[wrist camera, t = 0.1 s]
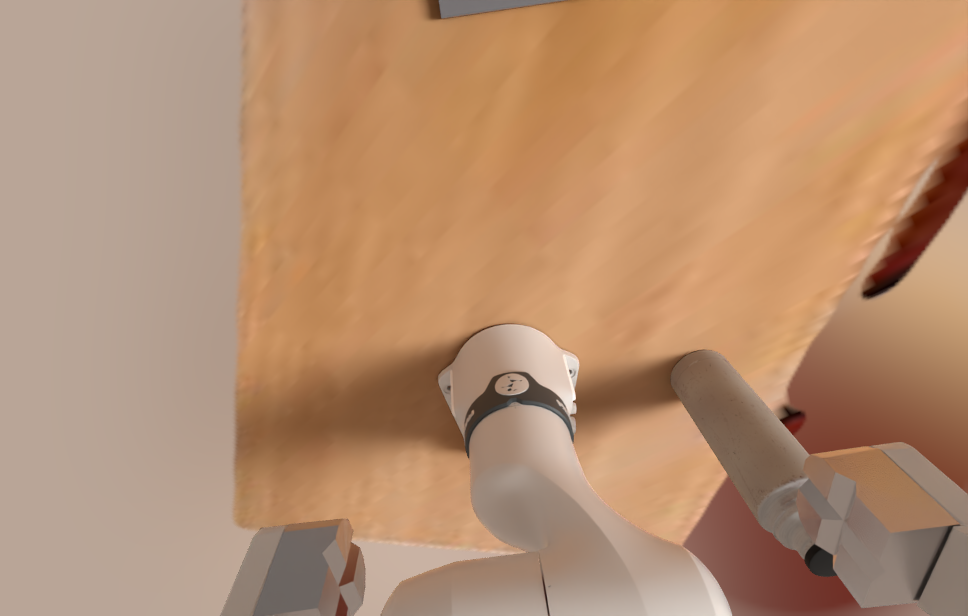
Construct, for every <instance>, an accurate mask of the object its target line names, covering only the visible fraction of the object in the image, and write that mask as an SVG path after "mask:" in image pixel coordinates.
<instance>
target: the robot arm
mask: <svg viewBox="0 0 968 616" xmlns="http://www.w3.org/2000/svg"><path fill="white" fill-rule="evenodd" d="M569 370H571V371H569ZM578 370H579V361H578V358H577V356H575V355H574V354H572V353H570V352H568V351H565V350H562V349H560V348H559V347H558V346H557V345H555V343H554V342H553V341H552V340H551V339H550V338H549V337H548V336H546V335H545V334H543V333H542V332H540V331H538V330H536V329H534V328H531V327H528V326H524V325H517V324H505V325H498V326H494V327H490V328H488V329H485V330H483V331H481V332H479V333H477V334H476V335H474V336H473V337H472V338H470V339H469V340H468V341H467V342H466V343H465V344H464V346H463V347H462V348H461V350H460V351H459V353H458V355H457V357H456V359H455V360H454V362H453V363H452V364H451V365H449V366H448V367H447V368H445V369H444V370H443V371H442V372H441V373H440V374H439V375H438V384H439V386H440V389H441V391H442V393H443V395H444V397H445V399H446V401H447V403H448V406H449V408H450V410H451V412H452V415H453V416H454V418H455V420H456V422H457V425H458V427H459V429H460V431H461V433H462V435H463V437H464V442H465V448H466V453H467V456H468V458H469V461H470V493H471V503H472V507H473V510H474V512H475V514H476V516H477V517H478V519H479V520H480V522H481V523H482V524H483V525H484V526H485V528H486V529H487V530H488V531H489V532H490V533H491V534H492V535H494V536H495V537H496V538H497V539H499V540H500V541H502V542H504V543H506V544H508V545H511V546H513V547H515V548H518V549H521V550H523V551H526V552H528V553H521V554H513V555H505V556H497V557H489V558H481V559H473V560H465V561H457V562H453V563H450V564H447V565H444V566H442V567H439V568H436V569H433V570H430V571H427V572H424V573H422V574H419V575H417V576H414V577H412V578H409V579H406V580H404V581H402V582H400V583H399V585H398V586H397V587H396V588H395V590H394V591H393V593H392V594H391V596H390V597H389V599H388V601H387V602H386V604H385V606H384V608H383V610H382V613H381V616H732V613H731V610H730V607H729V604H728V602H727V599H726V597H725V596H724V593H723V591H722V590H721V588H720V586H719V584H718V582H717V581H716V579H715V578H714V577H713V575H712V574H711V573H710V571H709V570H708V569H707V568H706V566H705V565H704V564H703V563H702V562H701V561H700V560H699V559H698V558H697V557H696V556H694V555H693V554H692V553H691V552H690V551H688V550H687V549H685V548H684V547H683V546H681V545H679V544H676V543H673V542H671V541H668V540H665V539H662V538H660V537H658V536H655V535H653V534H651V533H649V532H647V531H645V530H643V529H641V528H640V527H638V526H636V525H634V524H633V523H631V522H630V521H628V520H627V519H625V518H624V517H623V516H621V515H620V514H619V513H617V512H616V511H615V510H613V509H612V508H611V507H610V506H609V505H608V504H606V503H605V502H604V501H603V500H602V499H601V498H600V497H599V495H598V494H597V493H596V492H595V491H594V490H593V488H592V487H591V485H590V484H589V482H588V481H587V479H586V477H585V474H584V472H583V470H582V467H581V465H580V463H579V460H578V457H577V455H576V452H575V449H574V446H573V441H574V434H575V432H576V422H575V418H574V417H573V416H570V414H576V403H573V401H574V400H575V399H576V397H575V386H576V380H577V375H578ZM448 386H451V388H449V387H448ZM803 472H804V473H805V474H806V475H807V477H808V478H809V479H808V480H807V481H806V482H805V483H804V484H803V485H802V486H801V487H800V488H799V489H798V494H797V499H796V505H797V509H798V514H799V518H800V520H801V522H802V524H803V526H804V528H805V531H806V532H807V533H808V535H809V536H810V538H811V539H812V541H813V542H814V543H815V545H817V546H819V547H820V548H822V549H824V550H825V551H827V552H829V553H830V554H832V555H833V570H834V571H835V572H836V574H837V575H838V576H839V578H840V579H841V580H842V582H843V583H844V585H845V586H846V587H847V589H848V590H849V591H850V593H851V594H852V595H853V597H854V598H855V599H856V601H857V602H858V603H859V605H860V606H861V608H867V607H877V606H886V605H897V604H907V603H916V602H918V604H917V606H918V607H919V608H921V609H922V610H924V611H925V612H926V613H928V614H930V615H931V616H968V494H967V493H966V492H964V491H963V490H962V489H961V488H960V487H959V486H957V485H956V484H955V483H954V482H953V481H952V480H950V479H949V478H948V477H947V476H946V475H945V474H943V473H942V472H941V471H940V470H939V469H938V468H936V467H935V466H934V465H933V464H932V463H931V462H930V461H928V460H927V459H926V458H925V457H924V456H923V455H921V454H920V453H919V452H918V451H917V450H916V449H914V448H913V447H912V446H910V445H907V444H905V443H903V442H897V443H890V444H882V445H875V446H870V447H865V446H864V447H859V448H851V449H844V450H837V451H831V452H825V453H817V454H812V455H810V456H809V457H808V458H807V459H806V460H805V463H804V467H803ZM352 535H353V529H352V527H351V525H350V522H349V520H348V519H335V520H326V521H317V522H307V523H298V524H289V525H282V526H274V527H265V528H261V529H260V530H259V531H258V532H257V533H256V534H255V536H254V537H253V539H252V541H251V544H250V546H249V549H248V551H247V553H246V556H245V558H244V560H243V563H242V565H241V567H240V570H239V572H238V574H237V577H236V579H235V582H234V584H233V586H232V589H231V591H230V593H229V596H228V598H227V600H226V603H225V605H224V608H223V610H222V612H221V615H220V616H354V614H355V613H356V611H357V610H358V609H359V608H360V607H361V605H362V604H363V598H364V591H365V564H364V559H363V555H362V552H361V549H360V547H358V546H357V545H355V544H353V543H352V542H351V540H352ZM539 563H540V564H539Z"/></svg>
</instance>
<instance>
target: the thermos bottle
mask: <svg viewBox="0 0 968 616" xmlns="http://www.w3.org/2000/svg"><path fill="white" fill-rule="evenodd" d="M670 380H671V385H672V388H673V389H674V391H675V393H676V394H677V396H678V397H679V399H680V400H681V402H682V403H683V405H684V407H685V408H686V410H687V411H688V413H689V414H690V416H691V418H692V419H693V421H694V422H695V424H696V425H697V427H698V429H699V430H700V432H701V433H702V435H703V436H704V438H705V439H706V441H707V443H708V444H709V446H710V447H711V449H712V450H713V452H714V454H715V455H716V457H717V458H718V460H719V461H720V463H721V465H722V466H723V468H724V469H725V471H726V472H727V474H728V475H729V477H730V479H731V480H732V482H733V483H734V485H735V486H736V488H737V490H738V491H739V493H740V494H741V496H742V497H743V499H744V500H745V502H746V504H747V505H748V507H749V508H750V510H751V511H752V513H753V515H754V516H755V518H756V519H757V521H758V522H759V524H760V525H761V526H762V527H763V528H764V529H766V530H767V531H769V532H771V533H773V535H774V536H775V538H776V539H777V540H779V541H780V542H781V544H783V545H784V546H785V547H787V548H790V549H793V550H797V551H798V552H799V554H800V555H801V557H802V558H803V559H804V560H805V564H806V565H807V567H808V568H809V569H810V571H811V572H812V573H814V574H815V575H818V576H824V577H829V576H836V575H837V574H836V572H835V571H834V570H833V555H832V554H830V553H829V552H827V551H825V550H824V549H822V548H820V547H819V546H817V545H815V543H814V542H813V541H812V539H811V538H810V536H809V535H808V533H807V532H806V531H805V528H804V526H803V524H802V522H801V520H800V518H799V514H798V509H797V505H796V499H797V494H798V489H799V488H800V487H801V486H802V485H803V484H804V483H805V482H806V481H807V480H808V479H809V478H808V477H807V475H806V474H805V473H804V472H803V467H804V463H805V460H806V459H807V458H808V457H809V456H810V455H809V454H808V453H807V452H806V451H805V449H804V448H803V447H802V446H801V445H800V444H799V442H798V441H797V440H796V439H795V437H794V436H793V435H792V434H791V433H790V432H789V431H788V429H787V428H786V427H785V426H784V425H783V424H782V423H781V421H780V420H779V419H778V418H777V417H776V416H775V415H774V413H773V412H772V411H771V410H770V409H769V408H768V407H767V405H766V404H765V403H764V402H763V401H762V400H761V399H760V397H759V396H758V395H757V394H756V393H755V392H754V390H753V389H752V388H751V387H750V386H749V385H748V384H747V382H746V381H745V380H744V379H743V378H742V377H741V376H740V374H739V373H738V372H737V371H736V370H735V369H734V368H733V366H732V365H731V364H730V363H729V362H728V361H727V360H726V358H725V357H724V356H722V355H721V354H720V353H718V352H715V351H712V350H700V351H696V352H693V353H690V354H688V355H687V356H685V357H683V358H682V359H681V360H680V361H679V362H678V363H677V364H676V365H675V367H674V368H673V370H672V373H671V379H670Z"/></svg>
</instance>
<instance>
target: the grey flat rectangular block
mask: <svg viewBox="0 0 968 616" xmlns="http://www.w3.org/2000/svg"><path fill="white" fill-rule="evenodd" d="M561 1H568V0H439V6H440V12H441V19H445V18H452V17H459V16H466V15H472V14H479V13H486V12H493V11H500V10H506V9H513V8H520V7H527V6H534V5H540V4H547V3H554V2H561Z"/></svg>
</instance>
